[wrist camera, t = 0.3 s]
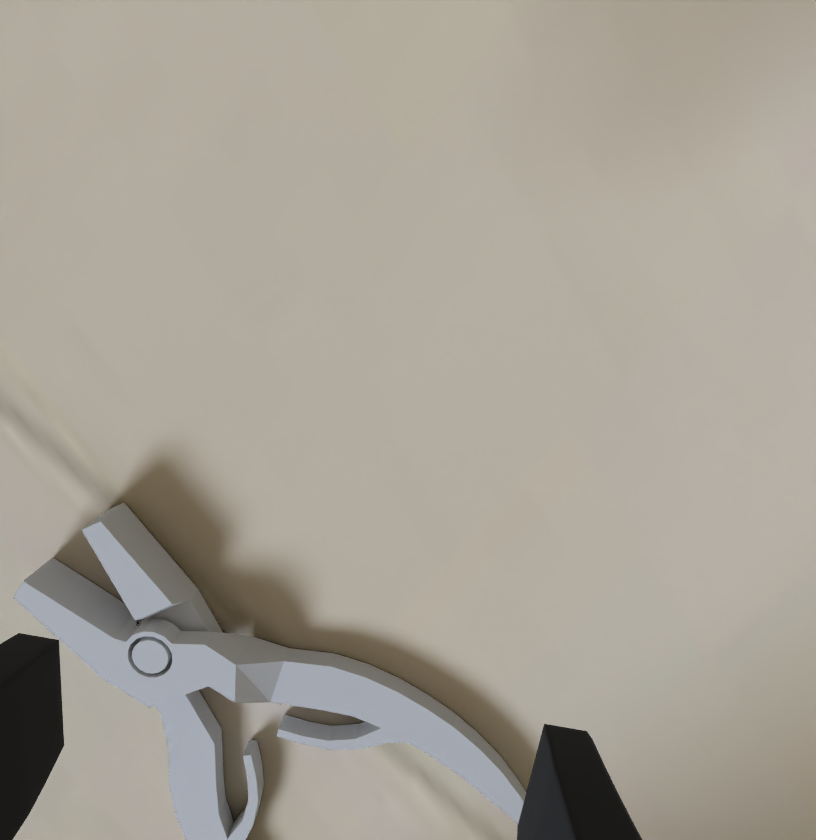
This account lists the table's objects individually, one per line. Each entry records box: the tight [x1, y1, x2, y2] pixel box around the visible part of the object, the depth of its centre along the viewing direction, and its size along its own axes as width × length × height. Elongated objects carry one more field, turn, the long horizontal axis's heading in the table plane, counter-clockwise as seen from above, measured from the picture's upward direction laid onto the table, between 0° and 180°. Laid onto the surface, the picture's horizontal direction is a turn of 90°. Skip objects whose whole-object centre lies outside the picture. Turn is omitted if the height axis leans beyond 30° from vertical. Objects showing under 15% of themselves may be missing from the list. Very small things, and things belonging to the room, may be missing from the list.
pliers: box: [13, 503, 526, 840], centre depth 23 cm, size 10×2×15 cm
